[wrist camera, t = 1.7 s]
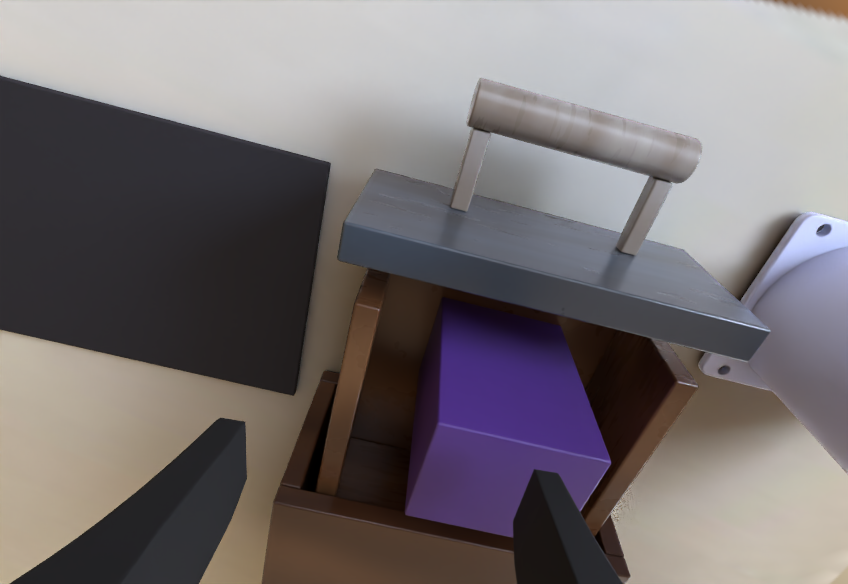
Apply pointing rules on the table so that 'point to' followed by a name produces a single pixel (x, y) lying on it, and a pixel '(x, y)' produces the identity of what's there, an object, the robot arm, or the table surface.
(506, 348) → the snack box
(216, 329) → the mat
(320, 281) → the table surface
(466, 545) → the cabinet
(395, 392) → the drawer
